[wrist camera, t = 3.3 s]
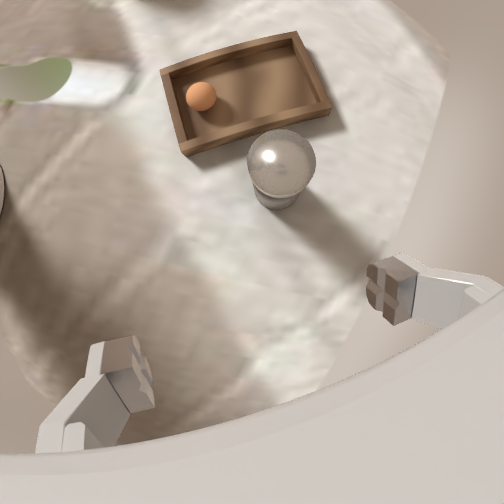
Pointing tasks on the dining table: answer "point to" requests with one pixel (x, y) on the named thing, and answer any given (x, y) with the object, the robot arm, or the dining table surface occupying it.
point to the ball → (201, 96)
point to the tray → (245, 91)
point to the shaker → (280, 167)
